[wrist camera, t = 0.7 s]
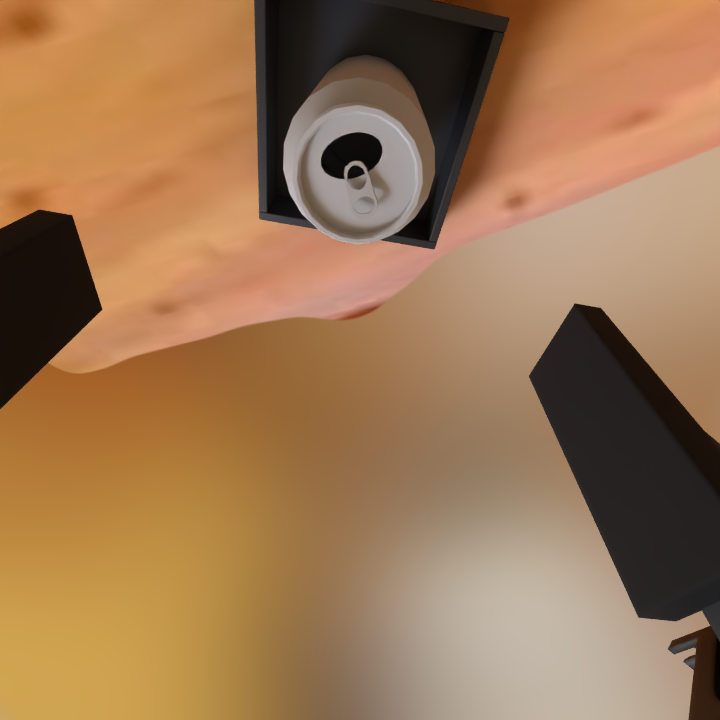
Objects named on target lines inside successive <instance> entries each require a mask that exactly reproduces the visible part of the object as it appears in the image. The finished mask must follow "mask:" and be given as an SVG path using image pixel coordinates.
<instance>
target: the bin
mask: <svg viewBox="0 0 720 720" xmlns="http://www.w3.org/2000/svg"><path fill="white" fill-rule="evenodd" d="M254 7H255V51H256V94H257V137H258V180H259V218H260V219H261V220H267V221H273V222H279V223H285V224H290V225H296V226H302V227H308V228H313V229H317V228H316V227H315V226H314V225H313V224H312V223H311V222H310V221H309V220H308V219H307V218H306V217H304V216H303V215H302V214H301V212H300V210H299V209H298V207H297V205H296V204H295V202H294V200H293V198H292V197H291V195H290V193H289V190H288V186H287V182H286V178H285V174H284V171H283V159H284V142H285V139H286V136H287V133H288V130H289V127H290V124H291V122H292V119H293V117H294V116H295V114H296V113H297V112H298V110H299V109H300V108H301V106H302V105H303V104H304V102H305V101H306V100H307V98H308V97H309V96H310V94H311V93H312V92H313V90H314V89H315V88H316V86H317V85H318V84H319V82H320V81H321V80H322V79H323V77H324V76H325V75H326V73H327V72H328V71H329V70H330V68H332V67H333V66H335V65H337V64H338V63H340V62H341V61H343V60H345V59H346V58H349V57H355V56H361V55H370V56H375V57H379V58H384V59H386V60H388V61H389V62H390V63H392V64H393V65H395V66H396V67H398V68H399V69H400V70H402V72H403V73H404V74H405V76H406V77H407V79H408V80H409V81H410V83H411V84H412V86H413V87H414V90H415V92H416V95H417V98H418V100H419V103H420V106H421V108H422V111H423V114H424V116H425V119H426V122H427V125H428V128H429V131H430V134H431V137H432V140H433V144H434V147H435V175H434V179H433V182H432V185H431V189H430V192H429V196H428V198H427V200H426V201H425V203H424V204H423V206H422V208H421V209H420V211H419V212H418V214H417V215H416V217H415V218H414V219H413V220H412V221H410V222H409V223H408V224H407V225H406V226H405V227H403V228H402V229H401V230H400V231H399V232H397V233H394V234H393V235H391V236H388V237H386V238H384V239H382V240H383V241H389V242H394V243H400V244H406V245H412V246H417V247H423V248H429V249H435V246H436V243H437V240H438V237H439V234H440V231H441V228H442V225H443V222H444V219H445V216H446V213H447V210H448V206H449V203H450V200H451V197H452V194H453V191H454V188H455V185H456V182H457V179H458V176H459V173H460V170H461V166H462V163H463V160H464V157H465V154H466V151H467V148H468V145H469V142H470V139H471V136H472V133H473V130H474V126H475V123H476V120H477V117H478V114H479V111H480V108H481V105H482V102H483V99H484V96H485V93H486V90H487V86H488V83H489V80H490V77H491V74H492V71H493V68H494V65H495V62H496V59H497V56H498V53H499V50H500V47H501V43H502V40H503V37H504V33H505V31H506V28H507V25H508V22H509V18H508V17H503V16H499V15H494V14H490V13H486V12H481V11H477V10H473V9H468V8H464V7H460V6H455V5H451V4H446V3H442V2H438V1H433V0H254Z"/></svg>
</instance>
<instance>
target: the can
mask: <svg viewBox="0 0 720 720" xmlns="http://www.w3.org/2000/svg"><path fill="white" fill-rule="evenodd" d="M283 171H284V174H285V178H286V182H287V186H288V190H289V193H290V195H291V197H292V198H293V200H294V202H295V204H296V205H297V207H298V209H299V210H300V212H301V214H302V215H303V216H304V217H306V218H307V219H308V220H309V221H310V222H311V223H312V224H313V225H314V226H315V227H316V228H317V229H318V230H319V231H320V232H322V233H324V234H326V235H328V236H330V237H332V238H333V239H335V240H337V241H341V242H347V243H352V244H364V243H373V242H377V241H379V240H382V239H384V238H386V237H388V236H391V235H393V234H394V233H397V232H399V231H400V230H401V229H402V228H403V227H405V226H406V225H407V224H408V223H409V222H410V221H412V220H413V219H414V218H415V217H416V215H417V214H418V212H419V211H420V209H421V208H422V206H423V204H424V203H425V201H426V200H427V198H428V196H429V192H430V189H431V185H432V182H433V179H434V175H435V147H434V144H433V140H432V137H431V134H430V131H429V128H428V125H427V122H426V119H425V116H424V114H423V111H422V108H421V106H420V103H419V100H418V98H417V95H416V92H415V90H414V87H413V86H412V84H411V83H410V81H409V80H408V79H407V77H406V76H405V74H404V73H403V72H402V70H400V69H399V68H398V67H396V66H395V65H393V64H392V63H390V62H389V61H388V60H386V59H384V58H379V57H375V56H370V55H361V56H355V57H349V58H346V59H345V60H343V61H341V62H340V63H338V64H337V65H335V66H333V67H332V68H330V70H329V71H328V72H327V73H326V75H325V76H324V77H323V79H322V80H321V81H320V82H319V84H318V85H317V86H316V88H315V89H314V90H313V92H312V93H311V94H310V96H309V97H308V98H307V100H306V101H305V102H304V104H303V105H302V106H301V108H300V109H299V110H298V112H297V113H296V114H295V116H294V117H293V119H292V122H291V124H290V127H289V130H288V133H287V136H286V139H285V142H284V159H283Z"/></svg>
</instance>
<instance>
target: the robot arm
mask: <svg viewBox="0 0 720 720" xmlns="http://www.w3.org/2000/svg"><path fill="white" fill-rule="evenodd" d="M101 310H102V307H101V304H100V301H99V297H98V294H97V291H96V288H95V285H94V282H93V279H92V276H91V272H90V269H89V266H88V263H87V260H86V257H85V254H84V251H83V247H82V244H81V241H80V238H79V235H78V232H77V229H76V226H75V222H74V219H73V216H72V215H67V214H61V213H56V212H50V211H44V210H37V211H35V212H33V213H31V214H29V215H27V216H25V217H23V218H21V219H19V220H17V221H15V222H13V223H11V224H9V225H7V226H5V227H3V228H1V229H0V409H1V408H2V407H3V406H4V405H5V404H6V403H7V402H8V401H9V400H10V399H11V398H12V397H13V396H14V395H15V394H16V393H17V392H18V391H19V390H20V389H21V388H22V387H23V386H24V385H25V384H26V383H28V382H29V381H30V379H32V378H33V377H34V376H35V375H36V374H37V373H38V372H39V371H40V370H41V369H42V368H43V367H44V366H45V365H46V364H47V363H48V362H49V361H50V360H51V359H52V358H53V357H54V356H55V355H56V354H57V353H58V352H59V351H60V350H61V349H62V348H63V347H64V346H65V345H66V344H67V343H69V342H70V341H71V340H72V339H73V338H74V337H75V336H76V335H77V334H78V333H79V332H80V331H81V330H82V329H83V328H84V327H85V326H86V325H87V324H88V323H89V322H90V321H91V320H92V319H93V318H94V317H95V316H96V315H97V314H98V313H99V312H100V311H101ZM529 378H530V380H531V382H532V384H533V386H534V388H535V391H536V393H537V395H538V397H539V399H540V402H541V404H542V406H543V408H544V411H545V413H546V415H547V417H548V419H549V422H550V424H551V426H552V428H553V430H554V432H555V435H556V437H557V439H558V441H559V443H560V446H561V448H562V450H563V452H564V455H565V457H566V459H567V461H568V463H569V465H570V468H571V470H572V472H573V474H574V477H575V479H576V481H577V483H578V485H579V488H580V490H581V492H582V494H583V496H584V499H585V501H586V503H587V505H588V507H589V510H590V512H591V514H592V516H593V518H594V521H595V523H596V525H597V527H598V529H599V532H600V534H601V536H602V538H603V540H604V542H605V545H606V547H607V549H608V551H609V554H610V556H611V558H612V560H613V562H614V565H615V567H616V569H617V571H618V573H619V576H620V578H621V580H622V582H623V584H624V587H625V588H626V591H627V593H628V595H629V598H630V600H631V602H632V604H633V606H634V608H635V611H636V613H637V615H638V617H639V618H649V619H658V620H668V621H678V620H680V619H682V618H685V617H687V616H690V615H692V614H694V613H697V612H699V611H701V610H702V611H703V613H704V615H705V617H706V618H707V620H708V622H709V624H710V625H711V626H709V627H706V628H704V629H701V630H698V631H696V632H694V633H691V634H688V635H686V636H683V637H681V638H678V639H675V640H673V641H672V642H671V644H670V646H669V648H668V650H669V651H671V652H672V653H673V654H676V653H679V652H682V651H685V650H688V649H691V648H693V647H694V648H696V655H693V656H690V657H688V658H686V659H685V660H684V663H686V664H687V665H688V666H689V667H691V668H692V669H693V670H694V675H693V684H692V694H691V703H690V713H689V720H720V444H719V443H718V442H717V441H716V440H715V439H713V438H712V437H711V436H709V435H708V434H707V433H706V432H705V431H704V430H703V429H702V428H701V427H700V425H699V424H698V423H697V422H696V421H695V419H694V418H693V417H692V416H691V415H690V414H689V412H688V411H687V410H686V409H685V408H684V406H683V405H682V404H681V403H680V402H679V400H678V399H677V398H676V397H675V396H674V394H673V393H672V392H671V391H670V390H669V389H668V387H667V386H666V385H665V384H664V383H663V381H662V380H661V379H660V378H659V377H658V375H657V374H656V373H655V372H654V371H653V370H652V368H651V367H650V366H649V365H648V364H647V362H646V361H645V360H644V359H643V358H642V356H641V355H640V354H639V353H638V352H637V350H636V349H635V348H634V347H633V346H632V345H631V343H630V342H629V341H628V340H627V339H626V337H625V336H624V335H623V334H622V333H621V331H620V330H619V329H618V328H617V327H616V326H615V324H614V323H613V322H612V321H611V320H610V318H609V317H608V316H607V315H606V314H605V312H604V311H603V310H602V309H601V308H597V307H591V306H586V305H580V304H574V306H573V307H572V309H571V311H570V312H569V314H568V315H567V317H566V318H565V320H564V321H563V323H562V325H561V326H560V328H559V329H558V331H557V332H556V334H555V336H554V337H553V339H552V340H551V342H550V344H549V345H548V347H547V348H546V350H545V352H544V353H543V355H542V356H541V358H540V359H539V361H538V363H537V364H536V366H535V367H534V369H533V371H532V372H531V374H530V375H529Z"/></svg>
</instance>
